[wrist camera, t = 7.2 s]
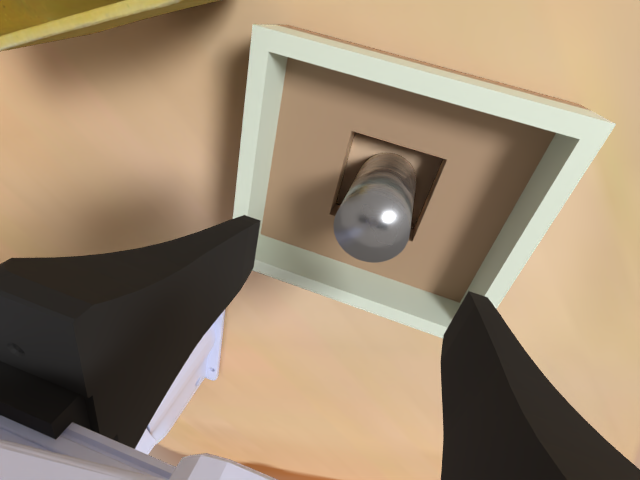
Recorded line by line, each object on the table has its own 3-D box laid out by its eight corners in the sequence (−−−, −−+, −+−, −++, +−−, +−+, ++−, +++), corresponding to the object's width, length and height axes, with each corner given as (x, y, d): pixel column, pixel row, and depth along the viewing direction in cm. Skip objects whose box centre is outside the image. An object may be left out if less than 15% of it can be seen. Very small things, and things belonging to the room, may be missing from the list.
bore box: (465, 301, 23) (470, 348, 20) (256, 229, 25) (228, 261, 21) (579, 104, 17) (615, 124, 13) (286, 24, 18) (252, 24, 15)
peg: (406, 214, 21) (397, 271, 16) (352, 199, 22) (327, 250, 17) (424, 160, 20) (420, 206, 15) (365, 146, 20) (341, 185, 15)
